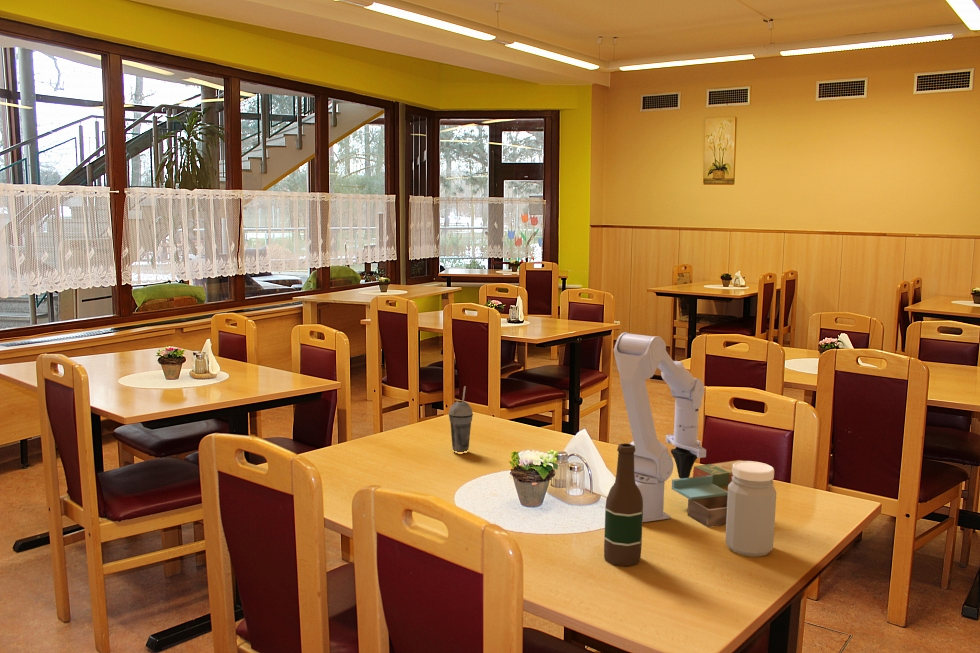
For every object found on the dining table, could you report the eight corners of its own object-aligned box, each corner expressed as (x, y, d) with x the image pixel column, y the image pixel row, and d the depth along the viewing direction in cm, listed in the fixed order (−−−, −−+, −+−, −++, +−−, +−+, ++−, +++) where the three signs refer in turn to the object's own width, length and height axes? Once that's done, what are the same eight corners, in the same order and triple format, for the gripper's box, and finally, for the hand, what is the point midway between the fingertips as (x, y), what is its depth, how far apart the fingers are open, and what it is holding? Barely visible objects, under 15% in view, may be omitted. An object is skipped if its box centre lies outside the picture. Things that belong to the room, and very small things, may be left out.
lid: (690, 499, 184) (691, 490, 184) (671, 489, 192) (672, 479, 191) (729, 494, 188) (730, 485, 188) (709, 484, 195) (710, 475, 195)
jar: (733, 558, 162) (737, 473, 159) (718, 539, 171) (722, 459, 169) (780, 558, 162) (785, 473, 160) (763, 539, 172) (767, 459, 169)
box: (707, 527, 178) (708, 510, 178) (687, 515, 186) (688, 498, 185) (748, 521, 182) (748, 505, 181) (726, 510, 189) (727, 494, 189)
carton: (760, 483, 211) (761, 467, 210) (711, 490, 205) (712, 474, 204) (740, 473, 219) (741, 458, 218) (692, 480, 213) (692, 464, 212)
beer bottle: (615, 548, 166) (619, 437, 163) (648, 558, 161) (653, 444, 158) (595, 560, 160) (599, 445, 157) (629, 571, 155) (634, 452, 152)
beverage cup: (445, 449, 238) (445, 384, 235) (468, 448, 240) (469, 383, 237) (451, 456, 231) (452, 389, 228) (475, 454, 233) (476, 388, 230)
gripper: (717, 430, 189) (715, 485, 191) (683, 416, 203) (680, 467, 204) (692, 433, 187) (690, 488, 188) (659, 418, 200) (657, 470, 202)
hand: (683, 477), depth 196 cm, fingers closed
